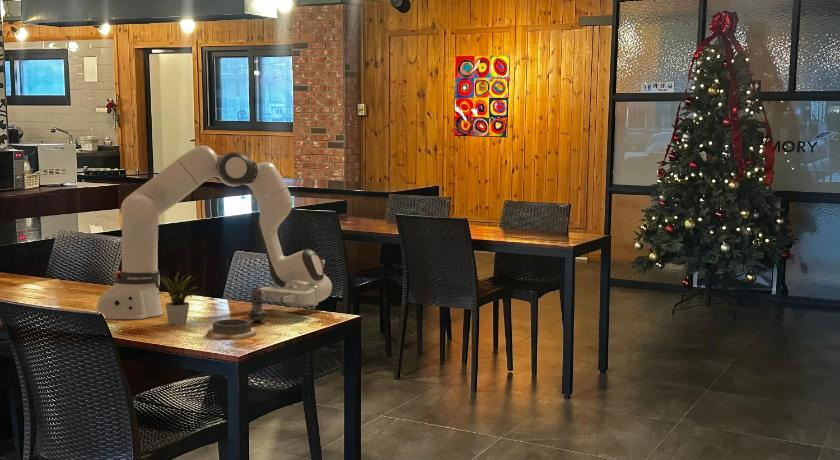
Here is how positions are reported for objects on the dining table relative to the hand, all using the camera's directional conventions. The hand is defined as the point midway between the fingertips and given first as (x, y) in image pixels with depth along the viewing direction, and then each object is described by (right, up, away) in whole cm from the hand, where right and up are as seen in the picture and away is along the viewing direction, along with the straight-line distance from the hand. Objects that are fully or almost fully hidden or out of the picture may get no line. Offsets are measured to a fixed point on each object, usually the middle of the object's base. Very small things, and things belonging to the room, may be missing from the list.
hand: (270, 298), depth 293 cm
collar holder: (-7, -9, -23) cm, 25 cm away
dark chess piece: (-3, -8, -5) cm, 10 cm away
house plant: (-28, -8, -8) cm, 30 cm away
